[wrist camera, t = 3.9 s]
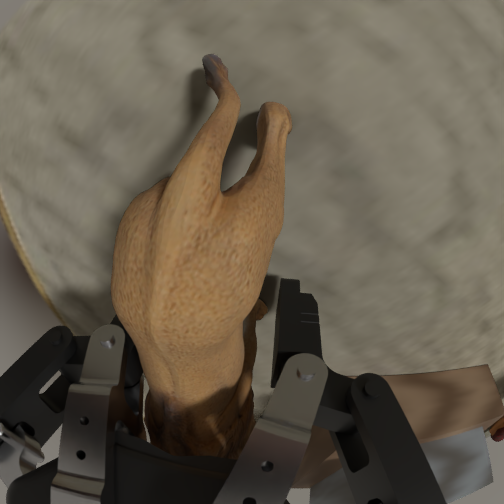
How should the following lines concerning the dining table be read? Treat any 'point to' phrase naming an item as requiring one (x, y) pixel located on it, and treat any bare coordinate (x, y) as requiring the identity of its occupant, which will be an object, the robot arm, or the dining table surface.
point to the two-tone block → (422, 434)
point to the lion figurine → (202, 280)
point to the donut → (497, 430)
